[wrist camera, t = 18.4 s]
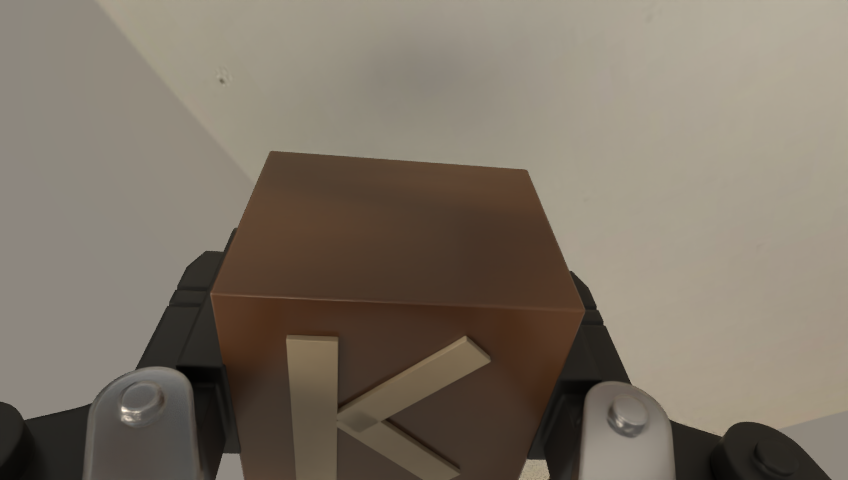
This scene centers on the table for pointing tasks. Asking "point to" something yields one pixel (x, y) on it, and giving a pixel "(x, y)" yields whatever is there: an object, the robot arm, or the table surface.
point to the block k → (391, 320)
